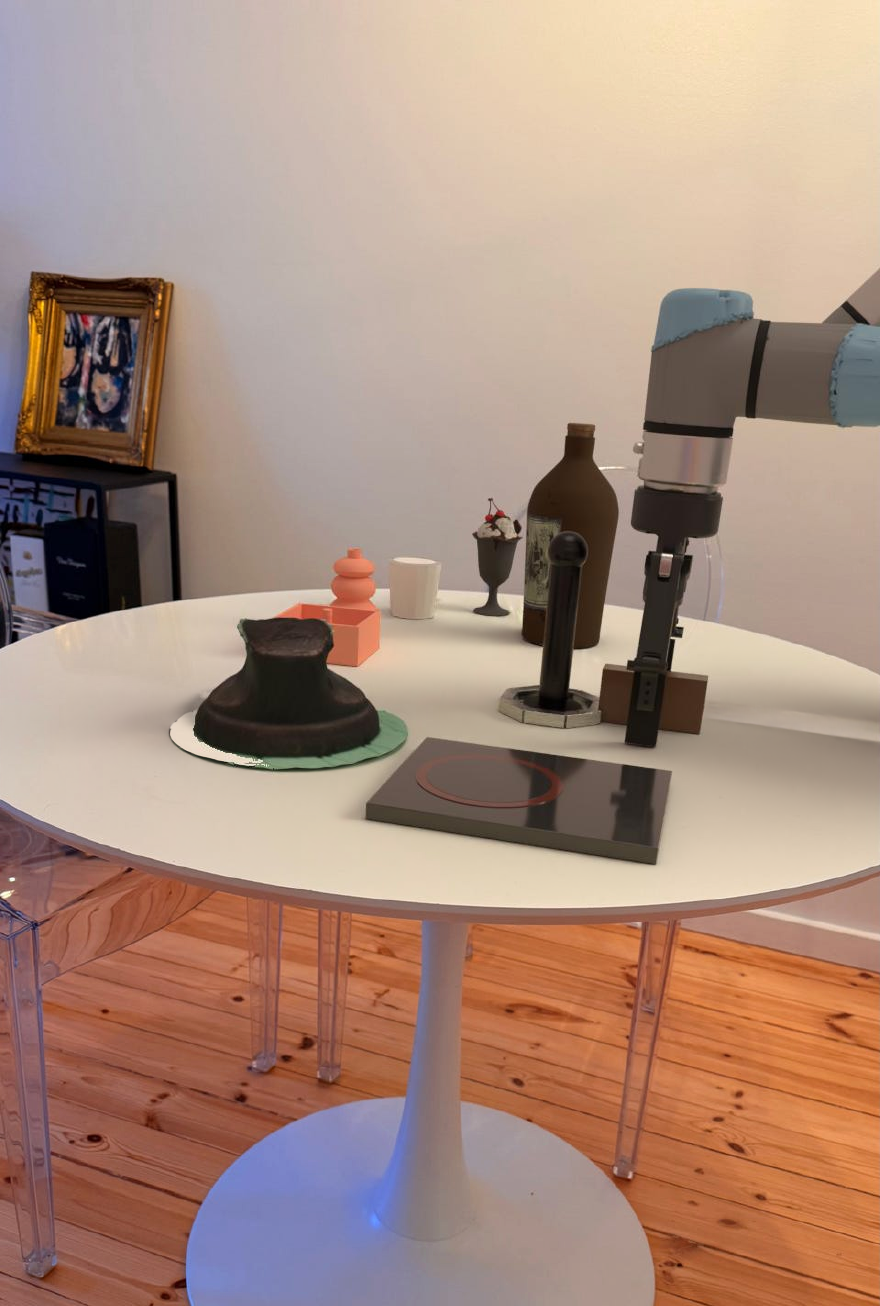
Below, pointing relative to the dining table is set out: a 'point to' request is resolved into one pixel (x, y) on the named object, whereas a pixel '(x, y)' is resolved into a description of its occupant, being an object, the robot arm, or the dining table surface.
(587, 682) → the dining table surface
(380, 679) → the dining table surface
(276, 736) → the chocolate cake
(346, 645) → the pottery
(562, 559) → the black knobbed post
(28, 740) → the dining table surface
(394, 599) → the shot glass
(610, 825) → the stove
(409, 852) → the dining table surface
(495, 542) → the sundae
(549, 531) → the olive oil
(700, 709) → the ring with block handle
